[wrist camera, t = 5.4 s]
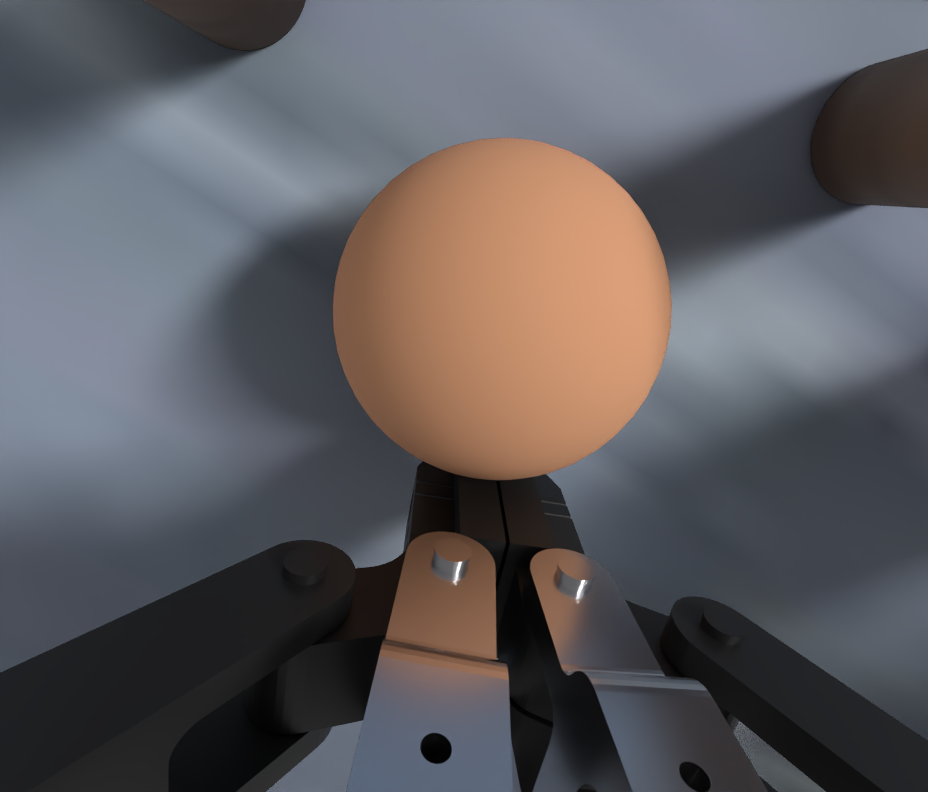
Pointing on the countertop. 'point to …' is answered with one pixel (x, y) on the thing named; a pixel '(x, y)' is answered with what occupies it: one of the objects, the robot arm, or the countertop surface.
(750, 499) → the countertop surface
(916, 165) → the post
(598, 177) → the ball
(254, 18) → the post
